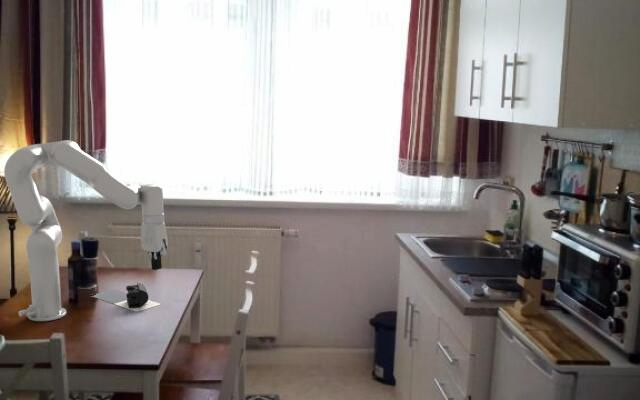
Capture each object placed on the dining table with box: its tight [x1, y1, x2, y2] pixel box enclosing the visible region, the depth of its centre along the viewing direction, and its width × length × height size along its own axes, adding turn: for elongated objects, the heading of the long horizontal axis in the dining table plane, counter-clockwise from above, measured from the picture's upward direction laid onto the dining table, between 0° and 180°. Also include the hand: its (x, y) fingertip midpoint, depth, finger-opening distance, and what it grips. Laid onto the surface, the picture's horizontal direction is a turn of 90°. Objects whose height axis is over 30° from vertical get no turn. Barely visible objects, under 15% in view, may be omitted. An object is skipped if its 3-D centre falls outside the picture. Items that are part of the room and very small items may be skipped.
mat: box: [91, 288, 128, 305], centre depth 258 cm, size 11×16×1 cm
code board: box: [114, 299, 162, 313], centre depth 249 cm, size 11×14×1 cm
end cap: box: [125, 282, 149, 308], centre depth 248 cm, size 10×7×7 cm
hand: (156, 268), depth 240 cm, fingers closed
